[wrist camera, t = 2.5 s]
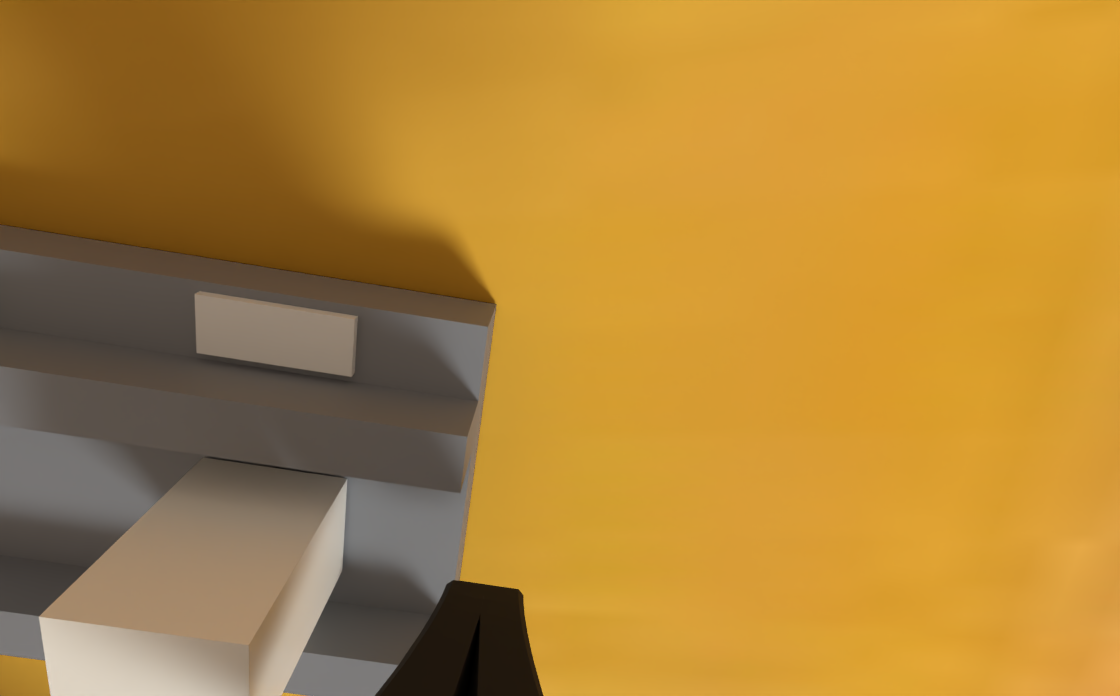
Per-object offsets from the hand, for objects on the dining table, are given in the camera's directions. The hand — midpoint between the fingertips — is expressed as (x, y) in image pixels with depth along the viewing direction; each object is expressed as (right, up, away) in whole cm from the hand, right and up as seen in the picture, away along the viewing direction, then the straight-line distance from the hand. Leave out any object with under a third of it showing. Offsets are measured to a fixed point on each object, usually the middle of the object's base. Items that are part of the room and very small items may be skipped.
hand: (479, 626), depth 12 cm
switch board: (-9, +3, +3) cm, 10 cm away
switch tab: (-5, +2, +2) cm, 5 cm away
